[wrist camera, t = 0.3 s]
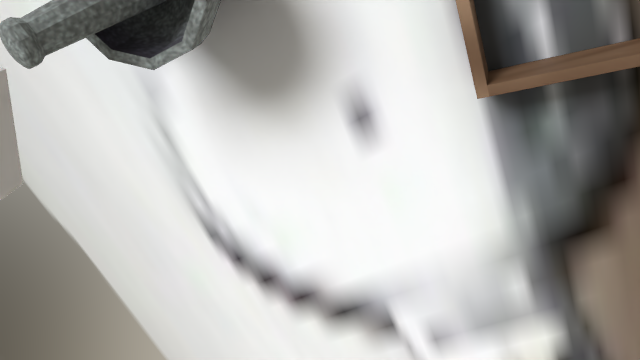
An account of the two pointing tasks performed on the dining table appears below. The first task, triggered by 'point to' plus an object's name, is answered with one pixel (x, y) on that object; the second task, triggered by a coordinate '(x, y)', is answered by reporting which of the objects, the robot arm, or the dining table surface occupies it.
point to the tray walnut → (539, 61)
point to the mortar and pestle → (111, 29)
